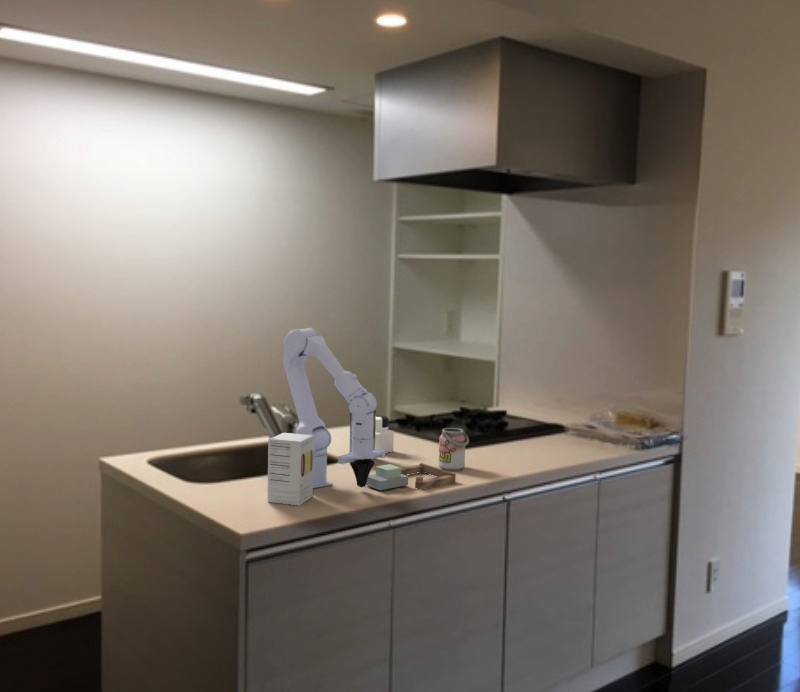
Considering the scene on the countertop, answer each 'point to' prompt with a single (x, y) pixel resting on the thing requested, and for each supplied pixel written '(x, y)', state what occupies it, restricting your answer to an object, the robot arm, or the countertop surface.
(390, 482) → the stacked grey base
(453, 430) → the soda can pail
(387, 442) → the medicine bottle
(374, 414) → the coffee box
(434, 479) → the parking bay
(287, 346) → the robot arm
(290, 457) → the supplement box
